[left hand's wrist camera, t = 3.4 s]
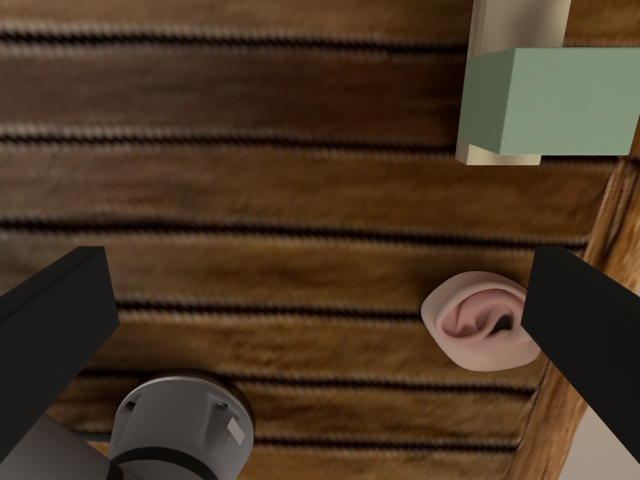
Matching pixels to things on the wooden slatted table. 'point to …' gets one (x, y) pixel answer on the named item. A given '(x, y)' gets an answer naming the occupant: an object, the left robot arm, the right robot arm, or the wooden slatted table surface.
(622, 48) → the green block
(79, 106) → the wooden slatted table surface
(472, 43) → the birch board
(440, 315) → the anatomical model
